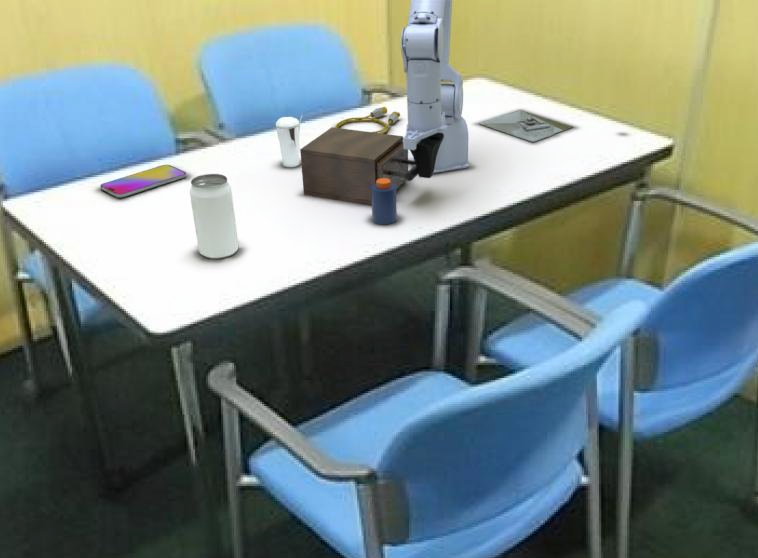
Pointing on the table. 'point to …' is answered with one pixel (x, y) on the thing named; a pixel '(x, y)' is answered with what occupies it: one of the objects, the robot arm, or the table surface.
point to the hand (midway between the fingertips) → (425, 176)
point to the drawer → (396, 166)
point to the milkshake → (289, 140)
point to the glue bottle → (384, 202)
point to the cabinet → (344, 163)
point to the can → (214, 216)
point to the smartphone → (143, 180)
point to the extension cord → (375, 113)
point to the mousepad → (526, 125)
